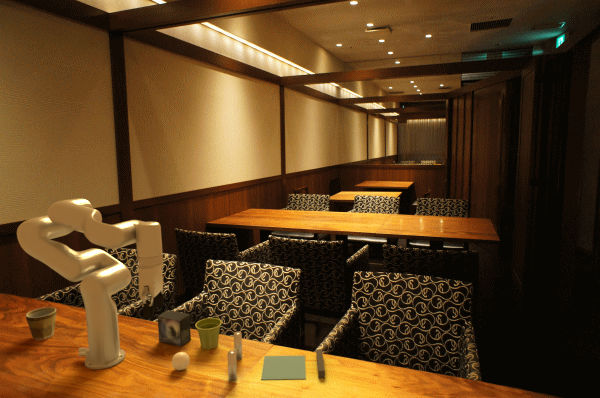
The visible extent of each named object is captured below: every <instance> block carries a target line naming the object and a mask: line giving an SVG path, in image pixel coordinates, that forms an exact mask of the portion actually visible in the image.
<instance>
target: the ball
mask: <svg viewBox="0 0 600 398" xmlns="http://www.w3.org/2000/svg"><path fill="white" fill-rule="evenodd" d="M190 361H191V360H190V355H188V353H186V352H185V351H180V352H177V353H175V354H174V355H173V356H172V360H171V365H172V367H173V369H175V370H176V371H183V370H185V369H186V368H188V366H189V364H190Z"/></svg>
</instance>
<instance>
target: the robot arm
mask: <svg viewBox="0 0 600 398" xmlns="http://www.w3.org/2000/svg"><path fill="white" fill-rule="evenodd" d="M102 221H103V217H102V214H101V212H100V211H99V210H98V209H95V208H94V206H93V205H92V204H91V202H90V201H89V200H87V199H85V198H83V197H82V198H79V197H78V198H70V199H64V200H59V201H56V202H54V203H53V204H51V205H50V206H49V207H48V209H47V215H42V216H36V217H33V218H29V219H27V220H25V221H23V222H22V223H20V225H19V226H18V227H17V230H16V236H17V241H18V243H19V245H20V248H22V250H23V251H24V252H25V253H26V254H28V255H29V256H31V257H33V259H35V260H38V261H40V262H41V263H43V264H45V265H46V266H47V267H49V268H50V269H52V270H53V271H55V272H56V273H57V274H59V275H60V276H61V277H63V278H65V280H68V281H69V282H72V283H73V282H74V283H76V282H80V281H81V282H80V285H79V290H80V294H81V297H82V301H83V304H84V309H85V311H84V312H85V320H86V331H87V341H88V347H79V348H78V357H84V358H85V359H84V365H85V367H86V368H88V369H90V370H101V369H103V370H104V369H107V368H111V367H113V366H116V365H118V364H119V363H121V362H122V361H123V360H124V359H125V357H126V351H125V350H124V349H122V348H121V344H120V332H119V331H120V329H119V318H118V315H119V314H118V308H117V307H118V306H117V304H116V302H114V300H113V298H112V295H114V294H117V293H118V292H121V291H122V290H124V289H125V288H126V287H128V286H129V284H130V283H131V281H132V273H131V271H130V269H129V267H127V266H126V265H125V264H124V263H123V262H121V261H119V260H118V259H117V258H115V257H113V256H112V255H111V254H109V253H107V252H106V251H105V250H103V249H100V248H89V249H86V250H81V251H76V250H74V249H72V248H70V247H69V246H68V245H67V244H64V243H62V242H59V241H56V240H52V239H56V238H59V237H63V236H64V237H65V236H67V235H69V234H71V233H72V232H74V231H76V232H80V233H83V235H84V236H85V238H86V239H87V240H88V241H89V242H90V243H92V244H94V245H96V246H100V247H103V248H106V249H111V250H113V249H114V250H115V249H120V248H123V247H126V246H130V245H132V244H136V255H137V267H138V268H139V269H138V296H139V298H140V299H141V302H140V303H141V307H142V316H143V319H153V318H154V317H155V310H154V309H155V308H154V307H163V306H164V290H163V288H164V276H163V270H162V269H163V268H162V265H163V264H164V257H163V242H162V241H163V239H162V226H161V224H160V222H157V221H142V220H138V219H130V220H126V221H122V222H119V223H115V224H109V223H104V222H102Z"/></svg>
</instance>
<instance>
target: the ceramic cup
mask: <svg viewBox="0 0 600 398" xmlns="http://www.w3.org/2000/svg"><path fill="white" fill-rule="evenodd" d="M25 319H26V321H27V322H26V323H27V325H28V327H29V331H30V333H31V337H32V339H33V340H35V341H37V340H38V341H45V340H48V339H50V337H51V336H52V335H53V336H54V334H55V326H56V319H57V308H55V307H54V306H53V307H51V306H47V307H41V308H40V307H39V308H36V309H33V310H31V311H28V312H27V313H26V314H25ZM53 336H52V337H53ZM52 337H51V338H52ZM47 338H48V339H47ZM44 339H45V340H44Z"/></svg>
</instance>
